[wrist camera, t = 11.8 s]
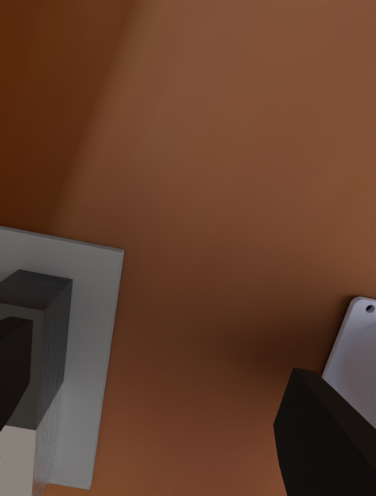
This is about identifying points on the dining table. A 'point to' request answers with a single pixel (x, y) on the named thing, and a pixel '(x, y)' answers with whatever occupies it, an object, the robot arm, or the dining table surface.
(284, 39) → the dining table surface
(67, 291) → the two-tone grey bar
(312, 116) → the dining table surface
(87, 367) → the mat
